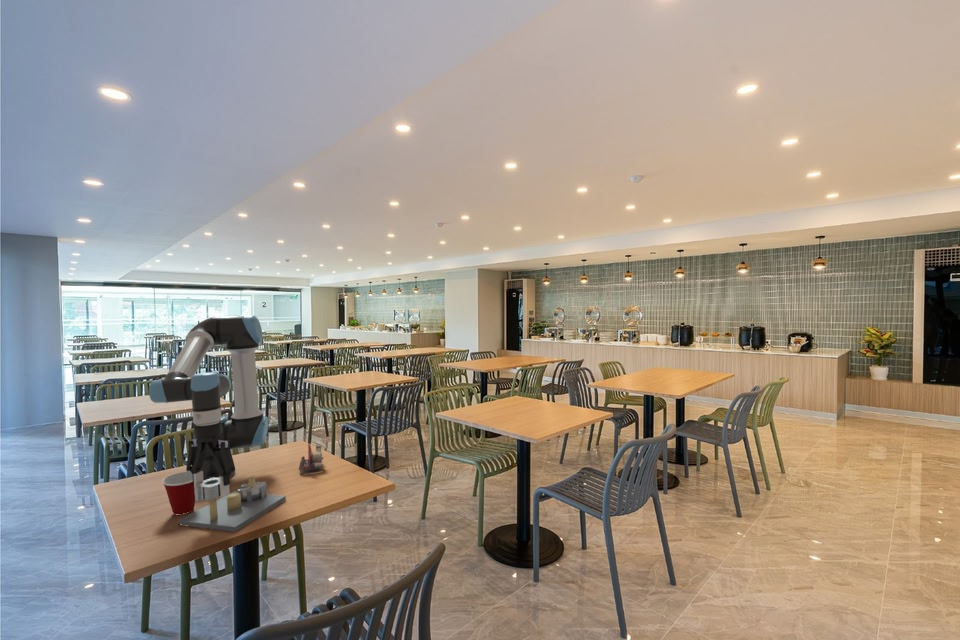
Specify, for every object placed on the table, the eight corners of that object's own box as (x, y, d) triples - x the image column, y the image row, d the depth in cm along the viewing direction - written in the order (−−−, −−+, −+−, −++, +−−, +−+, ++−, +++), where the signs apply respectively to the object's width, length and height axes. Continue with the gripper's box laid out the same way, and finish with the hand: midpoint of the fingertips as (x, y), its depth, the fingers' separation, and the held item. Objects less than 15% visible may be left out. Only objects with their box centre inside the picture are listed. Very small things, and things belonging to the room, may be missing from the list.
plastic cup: (172, 522, 143) (170, 485, 142) (158, 514, 149) (156, 479, 148) (209, 508, 152) (206, 473, 151) (194, 502, 158) (191, 468, 157)
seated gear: (232, 501, 153) (232, 490, 153) (251, 491, 161) (250, 480, 161) (254, 503, 151) (253, 491, 150) (272, 493, 159) (271, 482, 158)
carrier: (178, 525, 141) (176, 498, 140) (234, 495, 162) (232, 472, 161) (235, 532, 135) (233, 504, 134) (285, 500, 156) (284, 476, 155)
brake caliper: (294, 462, 188) (311, 437, 190) (317, 474, 191) (333, 450, 193) (291, 471, 177) (309, 445, 179) (315, 484, 180) (333, 458, 182)
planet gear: (187, 500, 137) (186, 487, 137) (213, 488, 146) (212, 475, 146) (211, 502, 134) (210, 489, 134) (236, 489, 143) (235, 477, 143)
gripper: (169, 425, 139) (173, 496, 139) (226, 427, 133) (231, 502, 133) (190, 419, 146) (195, 487, 147) (246, 420, 140) (250, 491, 141)
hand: (212, 494), depth 140 cm, fingers closed on planet gear, 9 cm apart
